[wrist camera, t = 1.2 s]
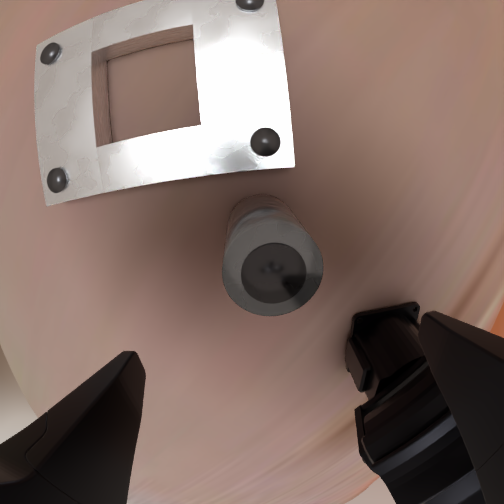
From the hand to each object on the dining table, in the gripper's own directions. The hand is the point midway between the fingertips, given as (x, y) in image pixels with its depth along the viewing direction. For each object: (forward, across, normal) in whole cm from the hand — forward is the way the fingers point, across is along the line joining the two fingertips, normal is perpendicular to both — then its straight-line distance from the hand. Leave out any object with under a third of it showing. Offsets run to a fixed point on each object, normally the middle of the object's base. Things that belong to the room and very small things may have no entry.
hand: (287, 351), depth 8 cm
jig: (+12, +6, -10) cm, 17 cm away
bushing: (+12, 0, 0) cm, 12 cm away
